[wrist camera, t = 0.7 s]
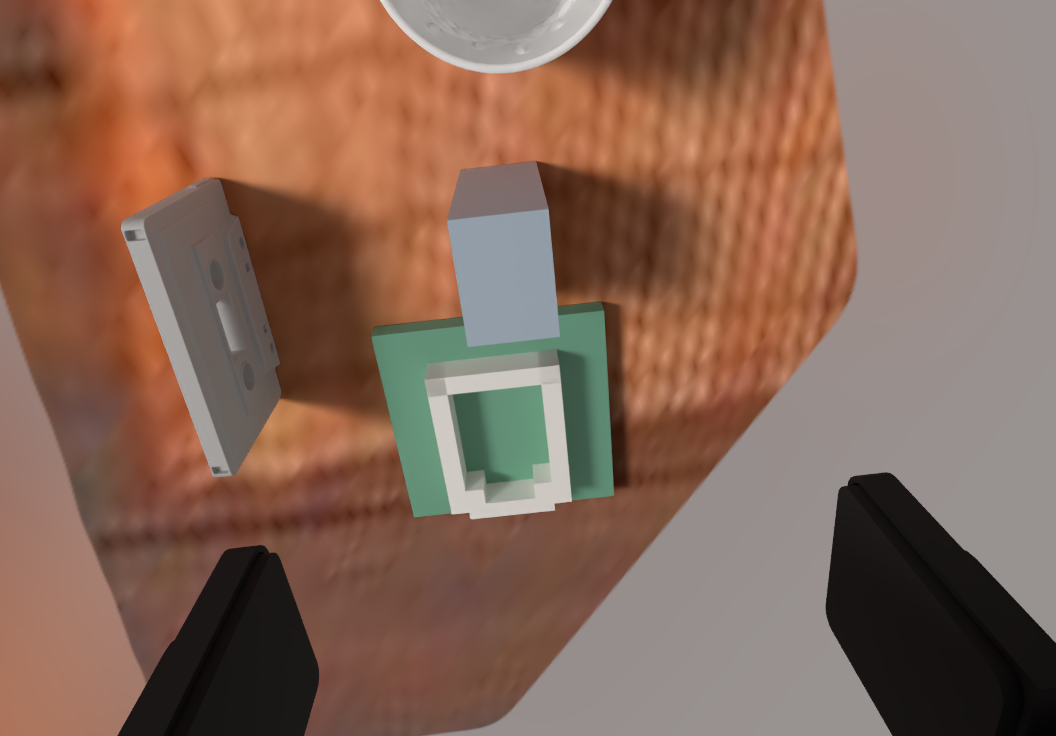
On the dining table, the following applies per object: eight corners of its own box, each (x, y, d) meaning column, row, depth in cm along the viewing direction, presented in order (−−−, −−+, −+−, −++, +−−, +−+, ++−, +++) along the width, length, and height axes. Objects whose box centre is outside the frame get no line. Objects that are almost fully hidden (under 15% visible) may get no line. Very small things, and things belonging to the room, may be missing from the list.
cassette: (190, 178, 31) (104, 221, 24) (230, 174, 31) (154, 217, 24) (258, 397, 37) (203, 482, 30) (292, 394, 37) (244, 479, 30)
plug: (460, 169, 31) (446, 220, 23) (536, 161, 31) (548, 209, 23) (478, 288, 34) (471, 369, 26) (547, 280, 34) (562, 359, 26)
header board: (374, 326, 35) (364, 352, 32) (601, 301, 35) (609, 324, 32) (416, 504, 40) (410, 538, 38) (611, 483, 40) (619, 515, 37)
